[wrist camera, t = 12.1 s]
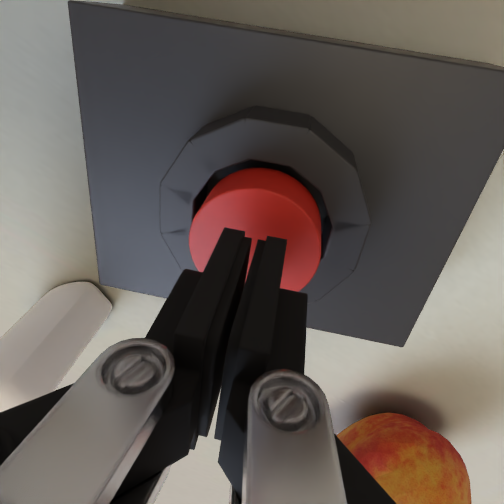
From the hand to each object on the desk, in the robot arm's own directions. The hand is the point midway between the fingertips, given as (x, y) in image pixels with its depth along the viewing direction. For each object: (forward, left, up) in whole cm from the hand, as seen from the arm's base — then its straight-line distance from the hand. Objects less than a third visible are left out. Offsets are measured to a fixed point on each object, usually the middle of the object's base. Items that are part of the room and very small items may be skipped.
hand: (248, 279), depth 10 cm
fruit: (+10, -16, -8) cm, 20 cm away
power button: (0, 0, -3) cm, 3 cm away
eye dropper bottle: (-11, -11, -8) cm, 18 cm away
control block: (0, 0, -8) cm, 8 cm away
